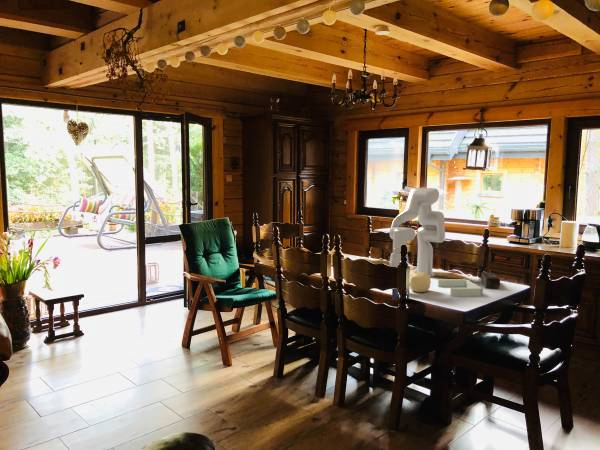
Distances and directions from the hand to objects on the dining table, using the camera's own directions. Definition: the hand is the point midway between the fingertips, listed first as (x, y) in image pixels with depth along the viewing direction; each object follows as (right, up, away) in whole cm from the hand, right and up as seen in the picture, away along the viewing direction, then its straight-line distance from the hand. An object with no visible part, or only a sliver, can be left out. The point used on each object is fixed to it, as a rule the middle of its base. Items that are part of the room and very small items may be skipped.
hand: (398, 283), depth 272 cm
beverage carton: (+58, -3, +16) cm, 60 cm away
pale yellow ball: (+12, -5, +1) cm, 13 cm away
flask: (-2, -7, -16) cm, 18 cm away
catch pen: (+34, -4, +2) cm, 34 cm away
